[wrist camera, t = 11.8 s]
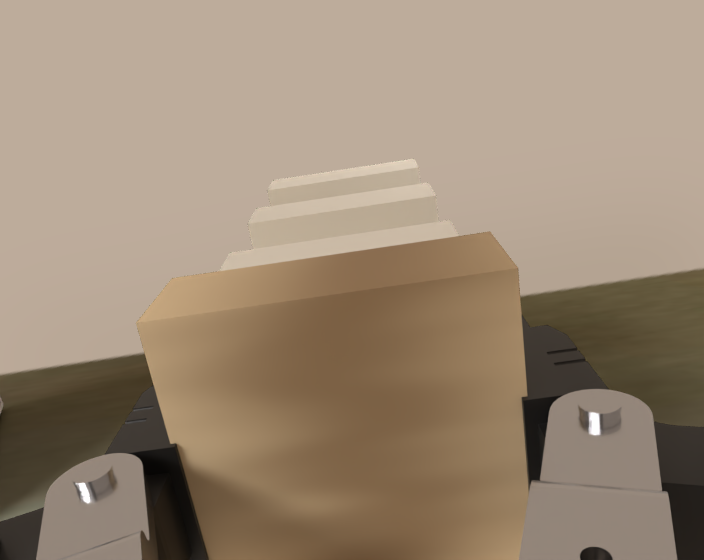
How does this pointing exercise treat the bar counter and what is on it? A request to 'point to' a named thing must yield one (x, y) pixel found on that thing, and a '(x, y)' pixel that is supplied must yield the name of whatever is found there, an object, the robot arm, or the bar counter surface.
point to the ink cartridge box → (1, 404)
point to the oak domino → (349, 403)
